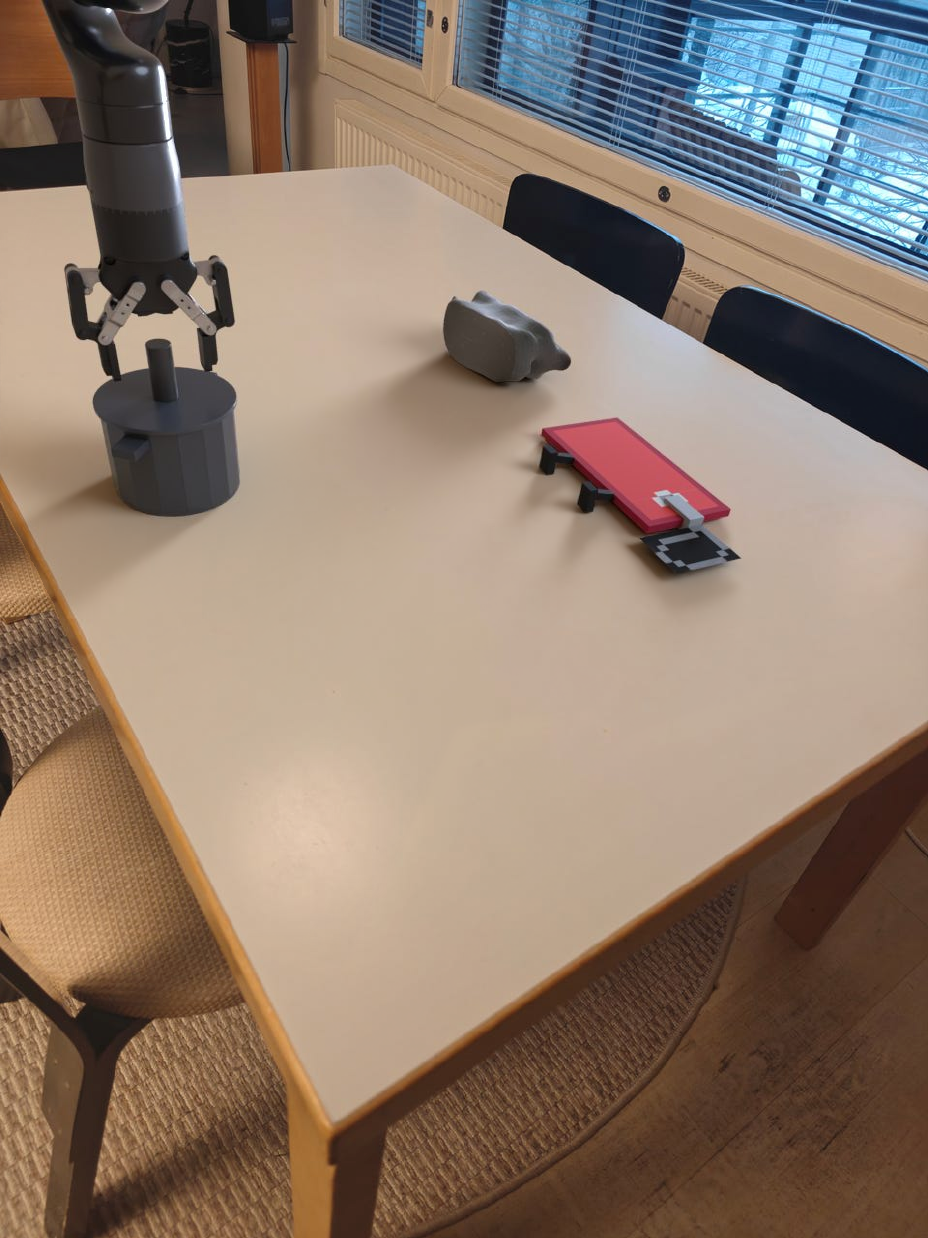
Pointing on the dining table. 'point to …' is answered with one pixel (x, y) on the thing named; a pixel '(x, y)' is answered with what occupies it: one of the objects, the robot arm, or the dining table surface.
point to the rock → (500, 340)
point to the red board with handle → (641, 490)
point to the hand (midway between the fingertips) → (162, 372)
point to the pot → (175, 468)
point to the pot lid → (164, 397)
